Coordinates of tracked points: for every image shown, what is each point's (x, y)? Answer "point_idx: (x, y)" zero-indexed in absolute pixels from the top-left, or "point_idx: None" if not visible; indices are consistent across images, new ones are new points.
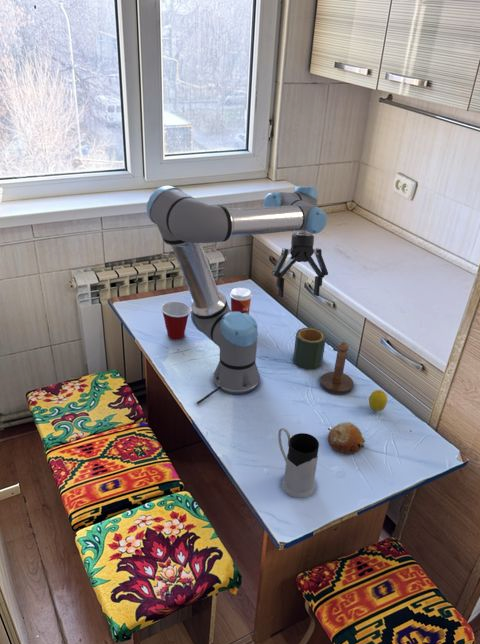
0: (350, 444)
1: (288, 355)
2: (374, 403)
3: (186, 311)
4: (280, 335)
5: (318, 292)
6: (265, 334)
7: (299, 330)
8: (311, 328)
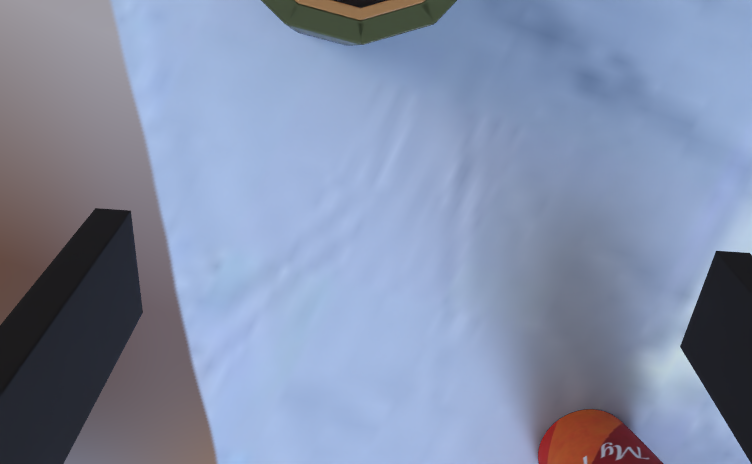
0: None
1: (441, 53)
2: None
3: None
4: (383, 297)
5: (87, 237)
6: (472, 333)
7: (431, 8)
8: (297, 4)
